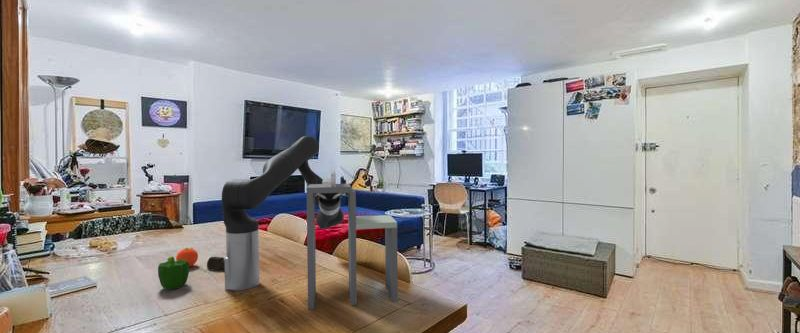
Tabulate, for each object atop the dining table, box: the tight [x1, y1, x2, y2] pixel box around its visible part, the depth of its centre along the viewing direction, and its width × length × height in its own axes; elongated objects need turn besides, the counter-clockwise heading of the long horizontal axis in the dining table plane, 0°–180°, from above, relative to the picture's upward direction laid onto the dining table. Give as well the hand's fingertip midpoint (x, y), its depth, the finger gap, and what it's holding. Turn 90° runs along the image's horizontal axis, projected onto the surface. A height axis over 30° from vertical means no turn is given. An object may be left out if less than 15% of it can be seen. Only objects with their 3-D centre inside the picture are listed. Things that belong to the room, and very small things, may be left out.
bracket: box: [322, 170, 337, 187], centre depth 101 cm, size 4×20×4 cm, turn 11°
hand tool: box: [206, 256, 225, 271], centre depth 124 cm, size 19×4×5 cm, turn 77°
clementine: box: [175, 247, 199, 268], centre depth 128 cm, size 8×7×7 cm
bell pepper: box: [157, 256, 190, 290], centre depth 107 cm, size 8×8×10 cm
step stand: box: [306, 183, 399, 310], centre depth 99 cm, size 24×12×32 cm, turn 101°
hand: (329, 181), depth 109 cm, fingers open, 8 cm apart
